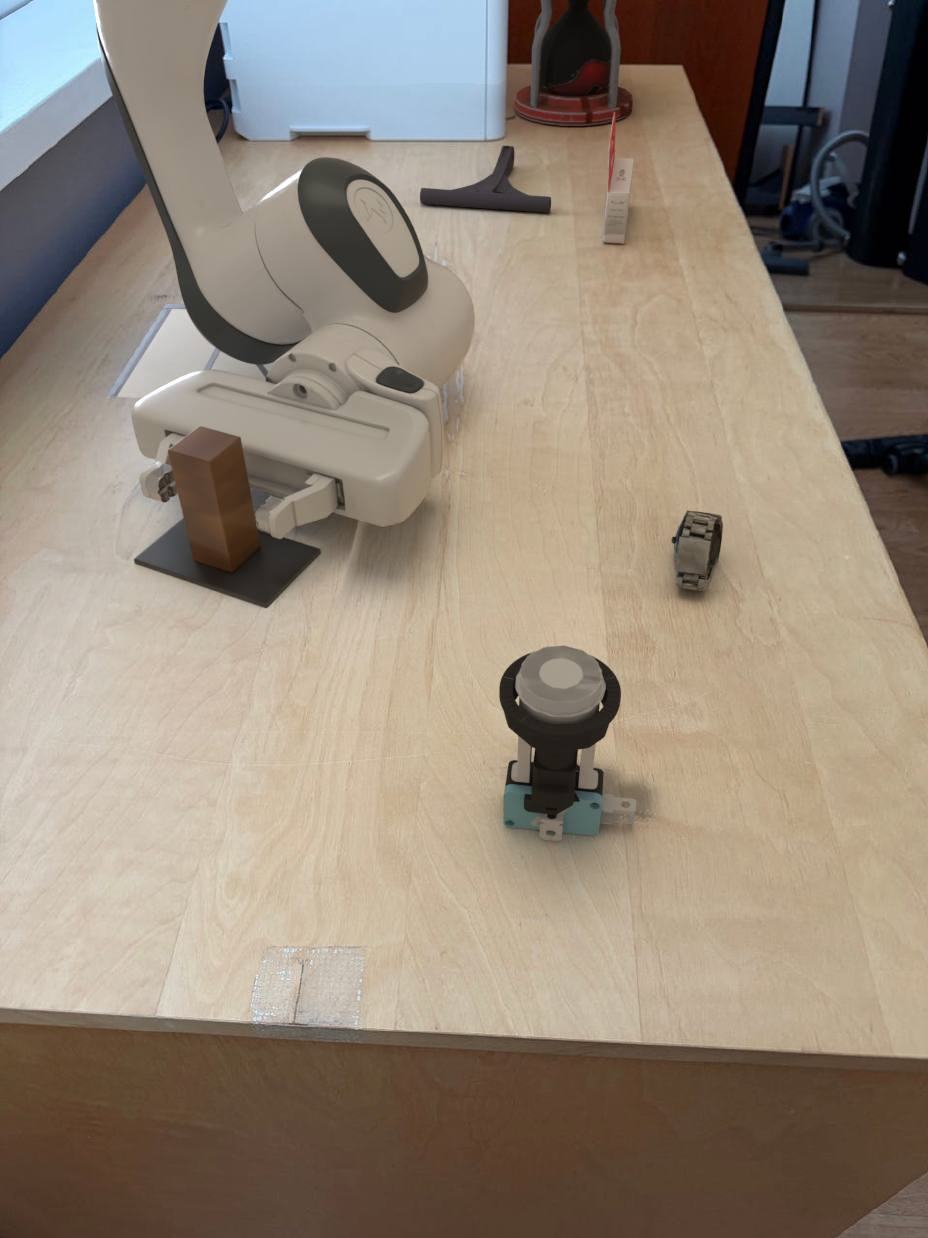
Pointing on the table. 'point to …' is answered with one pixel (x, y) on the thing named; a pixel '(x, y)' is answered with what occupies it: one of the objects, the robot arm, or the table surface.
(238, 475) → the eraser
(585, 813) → the push button
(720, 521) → the wristwatch
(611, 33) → the hourglass
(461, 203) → the squeegee
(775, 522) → the table surface
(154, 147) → the robot arm
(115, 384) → the whiteboard
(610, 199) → the ink cartridge box
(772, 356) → the table surface
